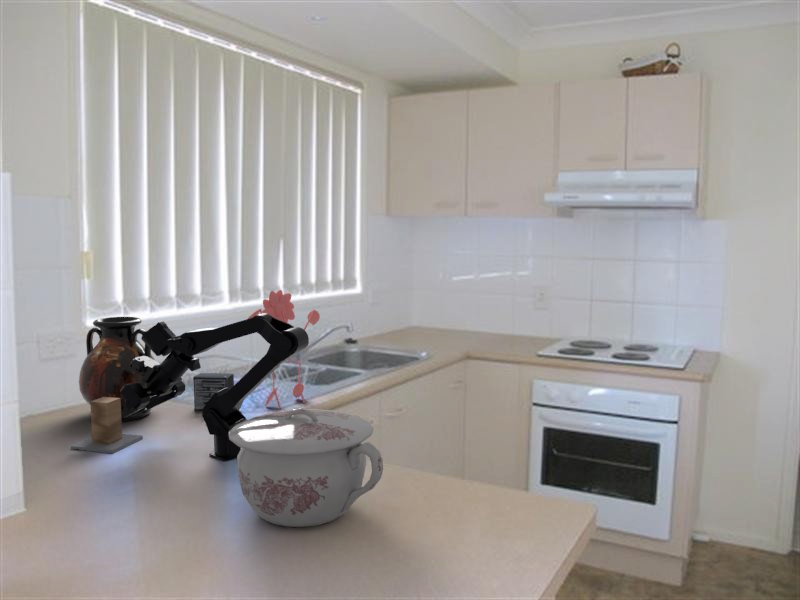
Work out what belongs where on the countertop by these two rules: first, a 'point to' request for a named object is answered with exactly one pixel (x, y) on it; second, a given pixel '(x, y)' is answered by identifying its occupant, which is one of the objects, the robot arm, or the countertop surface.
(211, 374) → the small box
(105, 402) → the walnut block
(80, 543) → the countertop surface
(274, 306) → the figurine
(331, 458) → the chamber pot
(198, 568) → the countertop surface
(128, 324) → the amphora vase
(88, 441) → the plate
